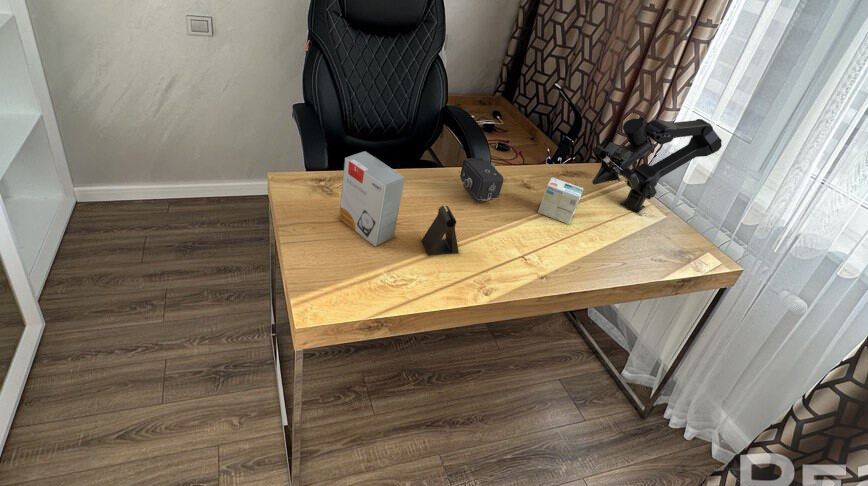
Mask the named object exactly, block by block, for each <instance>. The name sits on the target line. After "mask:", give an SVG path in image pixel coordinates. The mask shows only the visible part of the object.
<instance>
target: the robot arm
mask: <svg viewBox="0 0 868 486" xmlns="http://www.w3.org/2000/svg"><path fill="white" fill-rule="evenodd" d="M622 130H623V132H624V135H625V137H626V140H627V142H628V144H627V145H624V144H621V145H620V146H618V145H617V144H615V143H614V142H612V141H610V142H609V143H608V144H607V145H606V146H605V148H604V147H602V146H601V145H594V147H592V149H591V152H592V154H593V155H594V158H595V160H596V161H597V162H599V163H600V164H601V165H600V168H599V170H598V172H597V173H596V174H595V176H594V178H593V179H592V181H591V183H592V185H594V186H596V185H600V184H604V183H609V182H613V181H614V182H615V181H618V182H620V181H621V178H624V179H626V186H627V187H628V188H630V190H629V192H628V194H627V196H626V198H625V199H624V200H623V201H621V202H620V206H623V207H625V208H626V209H628V210H631V211H632V212H634V213H636V214H639V213H640V212H641V211H642V210H643V209H645V205H644V203H645V201H646V200H651V199H652V198H654V197H655V196H656V195H657V193H658V191H657V190H656V187H657V186H658V184H659V181H660V179H662V178H663V177H665V176H667V175H668V174H670V173H671V172H673V171H675V170H676V169H678V168H680V167H681V166H683V165H685V164H686V163H688V162H690V161H692V160H694V159H695V158H700V157H701V158H702V157H703V158H704V157H708V156H710V155H713V154H715V153H717V152H719V151H720V149H721V148H722V146H723V145H722V144H723V143H722V141H723V140H722V139H721V138H720V136H719V135H718V133H717V132H716V131H715V130H714V127H713V126H712V124H711V123H710V122H709V121H708V122H707V121H706V120H704V119H703V118H697V119H694V120H686V121H675V122H671V121H667V120H663V119H652V120H651V121H647V119H646V118H644V116H640V117H638V118H630V119H627V120H626V121H625V122H624V124H623V125H622ZM685 137H690V140H689V142H688V143H687V144H686V145H684V146H683V147H681V148H680V149H677V150H676V151H674V152H673V153H671V154H669V155H667V156H666V157H664V158H662V159H661V160H658V161H657V162H655V163H654V164H652V165H648V164H647V163H646V162H643V163H641V164H640V165H638V166H637V167H634V168H633V169H630V168H629V167H631V166H633V165H635V166H636V165H637V164H638V161H639V160H640V159H641V158H642V157H643V156H645V155H647V153H650V154H654V153H655V149H656V144H655V143H657V144H658V145H665V144H668V143H671V142H672V141H673V140H674V139H679V138H685ZM652 141H653V142H655V143H653V142H652Z"/></svg>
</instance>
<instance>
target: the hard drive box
mask: <svg viewBox="0 0 868 486" xmlns="http://www.w3.org/2000/svg"><path fill="white" fill-rule="evenodd" d="M405 179H406V177H405V176H404V175H402V174H401V173H400V172H398V171H397V170H395V169H393V168H391V167H390V166H389V165H387V164H385V163H384V162H383V161H381V160H380V159H379V158H377V157H376V156H373V155H372V154H370V153H369V152H367V151H366V150H364V151H361V152H358V153H355V154H352V155H349V156H347V157H345V158H344V164H343V175H342V182H341V183H342V185H341V192H340V193H341V194H340V204H339V213H338V214H339V215H338V219H339V220H341V221H342V222H343V223H344V224H345V225H346V226H348V227H349V228H351V229H352V230H353V231H354V232H356V233H357V234H358V235H360V236H361V237H362V238H363V239H364V240H366V241H367V242H368V243H370V244H371V245H372V246H374V247H377V246H379V245H381V244H383V243H385V242H387V241H389V240H391V239H392V238H395V234H396V227H397V223H398V217H399V211H400V206H401V202H402V201H401V200H402V196H403V190H404V185H405Z"/></svg>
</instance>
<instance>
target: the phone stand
mask: <svg viewBox="0 0 868 486" xmlns="http://www.w3.org/2000/svg"><path fill="white" fill-rule="evenodd" d="M445 207H446V208H445ZM446 209H447V210H446ZM456 225H457V219H456V218H455V216H454V214H453V212H452V211H451V208H450V207H449V206H448V205H445V206H444V205H441V206H440V207H438V210H437V215H436V217H435V218H434V220H433V221H432V223H431V224H430V226H429V227H428V229H427V230H426V232H425V233H424V235H423V237H422V239H421V243H422V246H423V248H424V250H425V252H426V254H427V256H438V255H439V256H440V255H442V256H443V255H458V254H459V246H458V241H457V233H456ZM444 237H445V238H444Z"/></svg>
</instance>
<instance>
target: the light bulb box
mask: <svg viewBox="0 0 868 486" xmlns="http://www.w3.org/2000/svg"><path fill="white" fill-rule="evenodd" d="M583 192H584V187H582V186H579V185H575V184H573V183H570V182H567V181H564V180H562V179H559V178H556V177H553V176H552V177H551V178H550V180H549V182H548V183H547V185H546V187H545V191H544V192H543V197H542V199H541V202H540V205H539V206H538V207H539V208H538V210H537V213H538V214H541V215H543V216H545V217H549V218H551V219H553V220H556V221H559V222H562V223H563V224H567V225H570V223H571V222H572V220H573V219H572V218H573V217H574V214H575V212H576V210H577V207H578V205H579V202H580V200H581V197H582V195H583Z"/></svg>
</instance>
